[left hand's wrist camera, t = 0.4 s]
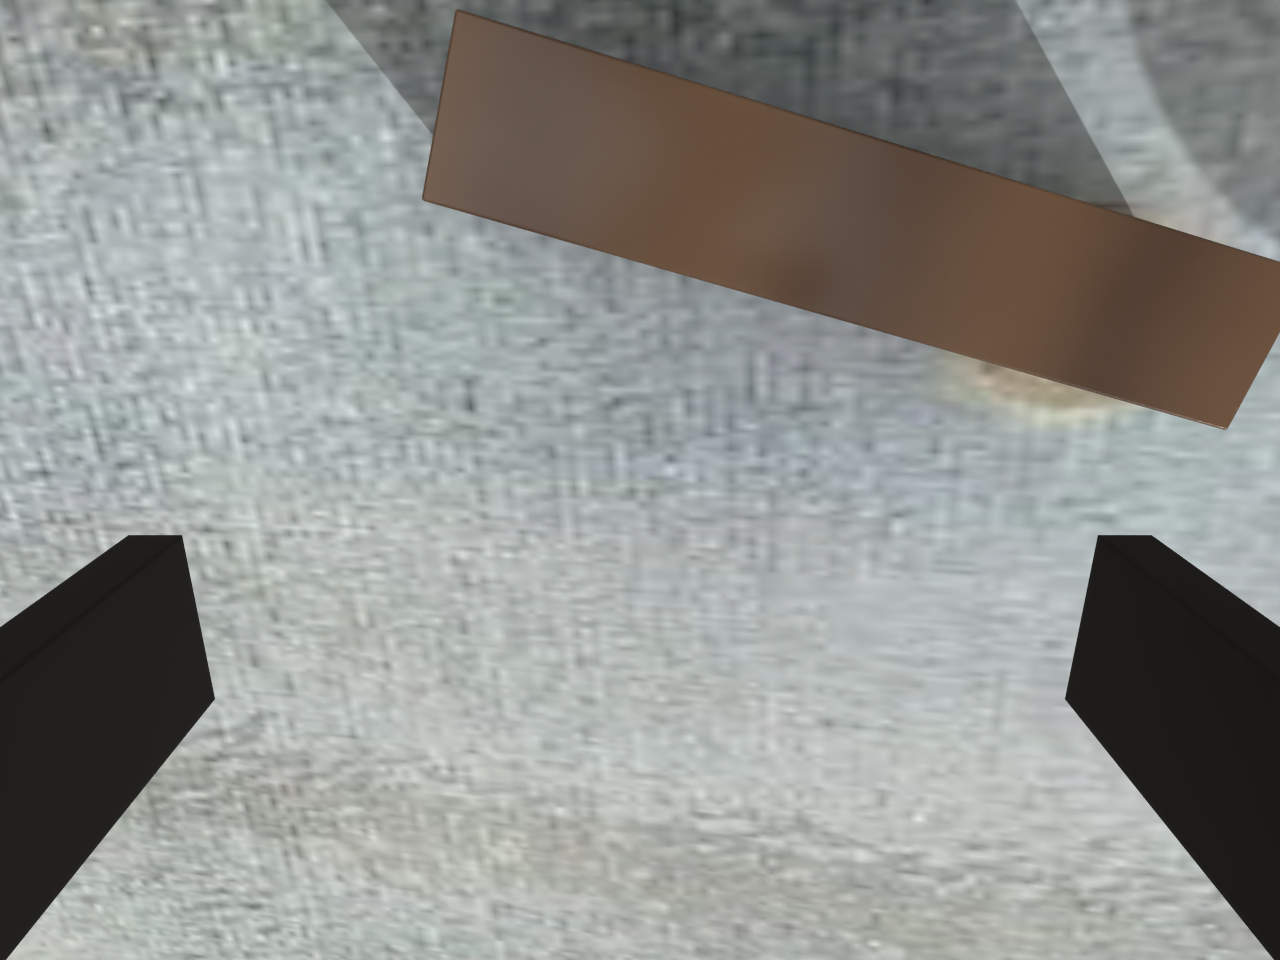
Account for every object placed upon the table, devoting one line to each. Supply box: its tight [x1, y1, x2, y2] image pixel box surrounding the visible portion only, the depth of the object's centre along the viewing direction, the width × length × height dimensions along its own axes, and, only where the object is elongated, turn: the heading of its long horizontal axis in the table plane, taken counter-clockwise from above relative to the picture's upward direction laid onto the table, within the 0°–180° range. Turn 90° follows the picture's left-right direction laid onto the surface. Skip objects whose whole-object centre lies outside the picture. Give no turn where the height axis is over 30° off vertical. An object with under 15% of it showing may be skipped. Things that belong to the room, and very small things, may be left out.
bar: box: [422, 10, 1280, 430], centre depth 28 cm, size 25×5×8 cm, turn 75°
